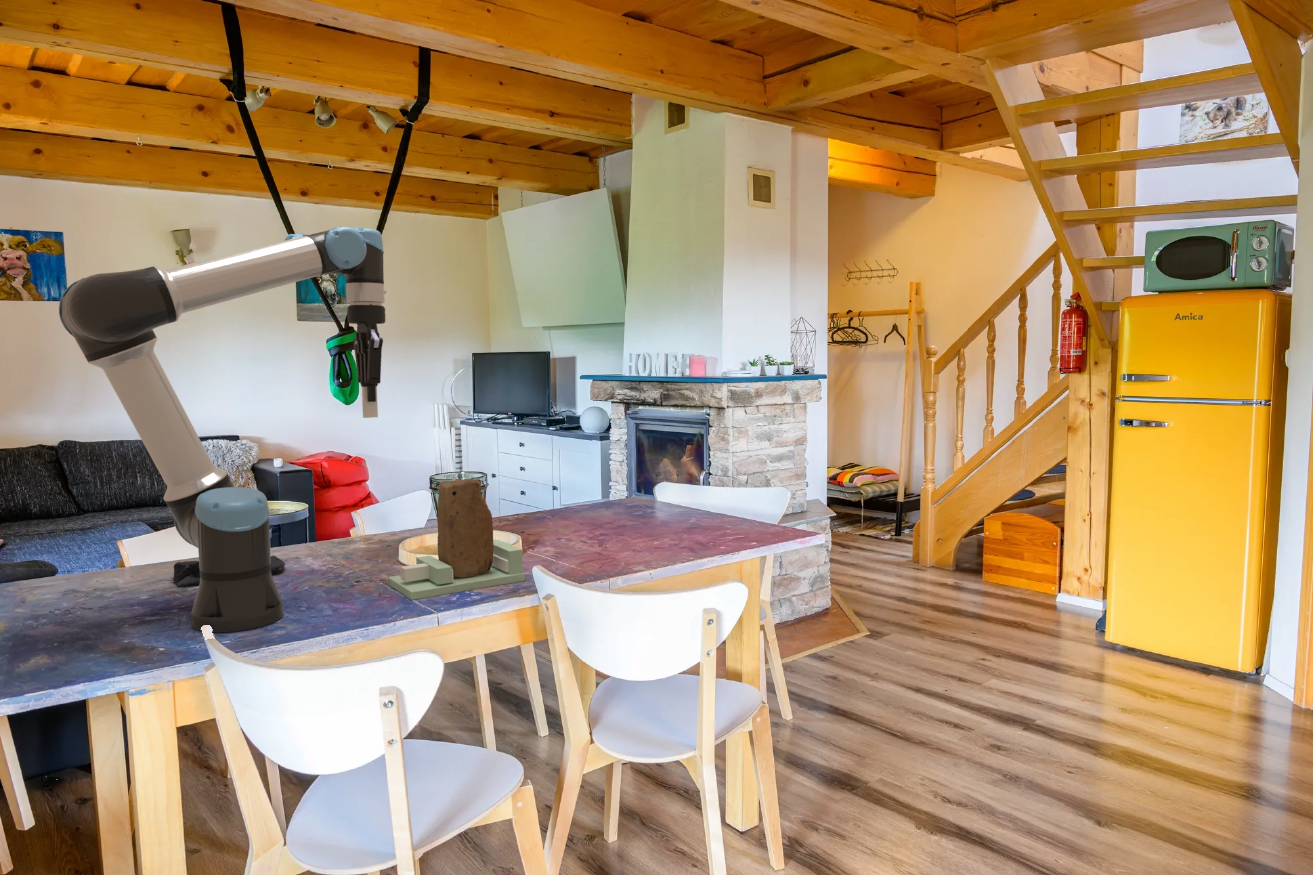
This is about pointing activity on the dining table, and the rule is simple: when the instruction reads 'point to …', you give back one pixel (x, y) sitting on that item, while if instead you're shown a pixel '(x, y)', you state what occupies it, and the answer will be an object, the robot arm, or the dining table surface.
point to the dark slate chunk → (190, 571)
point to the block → (464, 528)
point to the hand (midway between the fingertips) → (370, 417)
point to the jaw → (427, 571)
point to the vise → (502, 572)
